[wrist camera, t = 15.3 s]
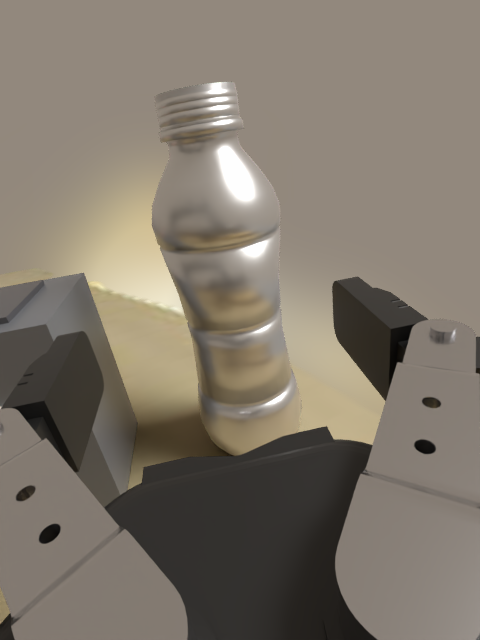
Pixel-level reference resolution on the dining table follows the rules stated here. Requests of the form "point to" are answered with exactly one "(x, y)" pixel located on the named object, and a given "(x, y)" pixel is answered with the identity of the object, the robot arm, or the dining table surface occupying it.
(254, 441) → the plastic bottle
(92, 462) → the box
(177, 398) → the dining table surface
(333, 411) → the dining table surface
